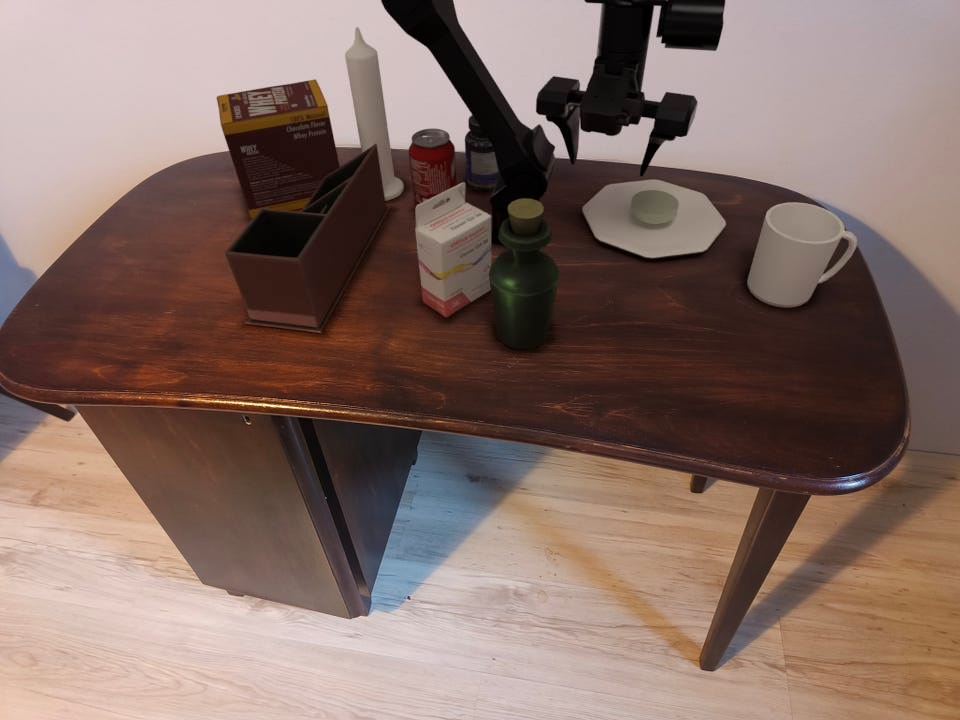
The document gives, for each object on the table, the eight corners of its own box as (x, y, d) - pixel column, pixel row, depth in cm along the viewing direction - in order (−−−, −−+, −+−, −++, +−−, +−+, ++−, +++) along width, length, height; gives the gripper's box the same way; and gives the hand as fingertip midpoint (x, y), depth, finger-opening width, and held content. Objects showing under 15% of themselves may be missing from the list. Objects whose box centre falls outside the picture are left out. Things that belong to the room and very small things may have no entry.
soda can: (453, 223, 97) (447, 150, 89) (410, 219, 98) (401, 146, 90) (462, 199, 102) (458, 128, 93) (421, 196, 103) (414, 125, 94)
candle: (401, 201, 102) (379, 36, 84) (357, 202, 102) (326, 37, 84) (405, 178, 107) (385, 17, 89) (364, 179, 107) (335, 19, 89)
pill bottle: (472, 172, 108) (469, 108, 100) (507, 175, 107) (507, 111, 99) (462, 190, 104) (459, 126, 96) (499, 194, 103) (498, 129, 95)
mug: (740, 302, 83) (763, 235, 75) (745, 262, 88) (767, 197, 81) (832, 320, 80) (865, 253, 72) (831, 278, 86) (861, 211, 78)
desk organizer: (245, 325, 82) (217, 254, 74) (328, 203, 102) (313, 137, 94) (322, 335, 81) (301, 263, 72) (391, 209, 100) (381, 142, 92)
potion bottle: (507, 364, 76) (508, 238, 63) (479, 322, 81) (474, 199, 68) (567, 343, 78) (579, 217, 65) (536, 304, 83) (541, 181, 71)
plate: (622, 177, 105) (623, 168, 104) (739, 213, 97) (741, 204, 96) (560, 234, 94) (561, 225, 93) (686, 280, 86) (689, 271, 85)
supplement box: (347, 199, 103) (328, 104, 92) (250, 219, 100) (218, 123, 88) (336, 169, 110) (316, 77, 99) (245, 187, 106) (214, 94, 95)
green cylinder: (624, 222, 93) (626, 209, 92) (635, 199, 98) (637, 186, 96) (670, 231, 91) (673, 218, 90) (680, 207, 96) (683, 194, 94)
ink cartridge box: (447, 320, 82) (438, 222, 71) (422, 302, 84) (410, 206, 74) (494, 289, 86) (492, 192, 75) (468, 273, 88) (463, 178, 78)
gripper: (521, 60, 70) (519, 186, 81) (693, 82, 65) (665, 214, 76) (553, 26, 77) (547, 146, 89) (711, 44, 72) (683, 170, 83)
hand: (607, 169), depth 84 cm, fingers open, 9 cm apart
